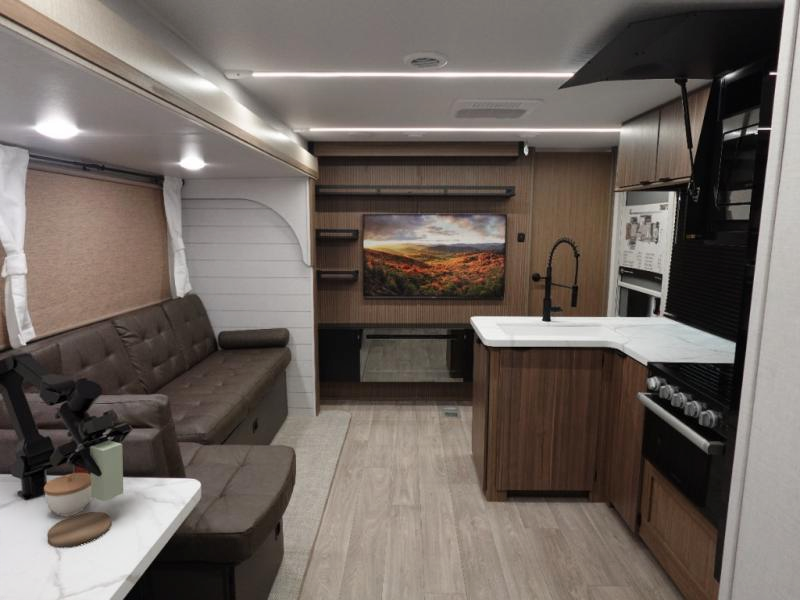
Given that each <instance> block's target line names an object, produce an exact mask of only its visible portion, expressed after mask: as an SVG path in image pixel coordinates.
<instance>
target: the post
mask: <svg viewBox="0 0 800 600" xmlns="http://www.w3.org/2000/svg"><path fill="white" fill-rule="evenodd" d="M90 455H91V457H92V458H93V460H94V461H95V463H96V464H97V466H98V467H99V469H100V471H101V473H102V474H101V476H97V475H95V474H93V473H91V499H92V498H93V499H95V500H99V501H101V502H104V503H105V502H107V501H108V502H109V501H110V500H112V499H113V498H116V497H118V496H120V495H123V494H124V472H123V471H124V468H123V467H124V465H123V458H124V457H123V443H121V442H120V443H117V442H113V441H106V442H103V443H100V444H97V445H94V446H91V447H90Z"/></svg>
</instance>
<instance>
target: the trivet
mask: <svg viewBox="0 0 800 600" xmlns="http://www.w3.org/2000/svg"><path fill="white" fill-rule="evenodd" d="M111 517H112V516H110V514H108V513H107V512H102V511H87V512H82V513H76V514H73V515H70V516H69V517H68V516H67V517H65V518H63V519H61V520H59V521H58V522H56V523H55V524H54V525H52V526H51V527H50V528H49V529H48V531H47V533H46V534H47V535H46V537H47V543H48V545H50V546H51V547H53V546H54V547H53V548H58V547H59V548H61V547H63V549H64V547H69V548H74V547H73V546H75V547H79V546H78V545H80V546H82V545H81V544H83V545H85V544H84V543H86V544H88V543H87V542H89V543H91V542H90V541H92V540H94V539H96V540H98V539H100V538H101V537H103V536H104V535H106V534H107V533H108V532H109V530H110V529H111V528H110V527H112V518H111ZM109 528H110V529H109ZM107 531H108V532H107ZM106 532H107V533H106ZM103 534H104V535H103ZM102 535H103V536H102ZM100 536H101V537H100ZM99 537H100V538H99ZM97 538H98V539H97ZM94 541H95V540H94ZM92 542H93V541H92ZM61 549H62V548H61Z"/></svg>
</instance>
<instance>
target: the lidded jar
mask: <svg viewBox="0 0 800 600" xmlns="http://www.w3.org/2000/svg"><path fill="white" fill-rule="evenodd" d="M44 492H45V494H44V498H45V502H46V504H47V507H48V508H49V510H50V511H52V512H53V513H54V514H58V515H57V516H59V515H61V516H60V517H67V516H66V515H69V516H73V515H76V514H79V513H80V512H82V511H83V510H84V509H85V507H86V506H87V505H88V504H89V502H90V501H91V499H92V497H91V474H88V473H73V472H72V473H68V474H65V475H61V476H57V477H55V478H53V479H51V480H50V481H47V484H46V485H45V486H44ZM82 509H83V510H82ZM81 510H82V511H81ZM79 511H80V512H79ZM75 513H76V514H75ZM72 514H73V515H72Z"/></svg>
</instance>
